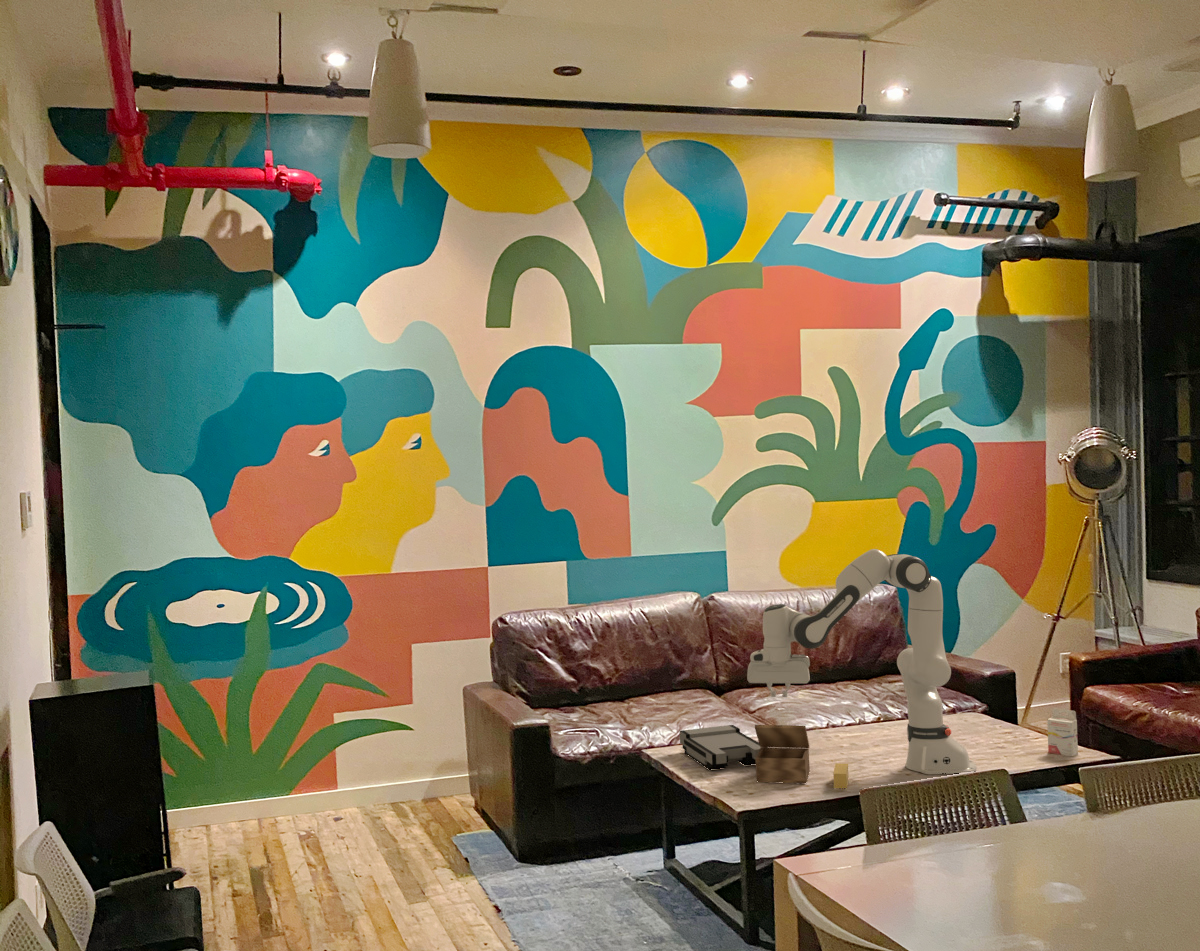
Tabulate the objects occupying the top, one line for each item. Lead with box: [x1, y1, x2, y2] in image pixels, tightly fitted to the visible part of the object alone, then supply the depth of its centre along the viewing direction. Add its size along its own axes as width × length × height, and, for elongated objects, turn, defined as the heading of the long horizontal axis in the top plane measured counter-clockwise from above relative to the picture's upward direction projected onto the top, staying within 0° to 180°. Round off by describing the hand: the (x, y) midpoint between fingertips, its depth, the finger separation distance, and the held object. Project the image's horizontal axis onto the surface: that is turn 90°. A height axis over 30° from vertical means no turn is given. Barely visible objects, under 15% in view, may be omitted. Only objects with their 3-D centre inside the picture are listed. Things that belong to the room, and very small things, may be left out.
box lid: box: [754, 724, 810, 749], centre depth 367 cm, size 16×14×1 cm
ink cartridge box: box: [1047, 707, 1079, 757], centre depth 379 cm, size 9×5×15 cm, turn 47°
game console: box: [679, 724, 769, 771], centre depth 391 cm, size 21×32×8 cm, turn 16°
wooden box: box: [755, 747, 811, 784], centre depth 366 cm, size 16×14×8 cm
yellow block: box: [832, 762, 849, 790], centre depth 356 cm, size 4×12×5 cm, turn 165°
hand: (779, 696), depth 364 cm, fingers open, 2 cm apart
